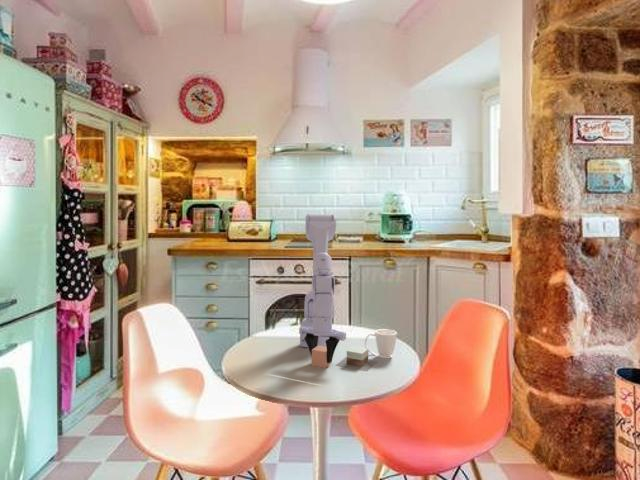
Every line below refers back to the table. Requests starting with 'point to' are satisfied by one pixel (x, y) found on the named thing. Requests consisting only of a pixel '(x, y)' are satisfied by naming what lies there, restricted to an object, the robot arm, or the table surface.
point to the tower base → (357, 362)
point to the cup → (384, 342)
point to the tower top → (357, 353)
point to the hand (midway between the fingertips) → (321, 360)
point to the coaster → (364, 368)
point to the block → (320, 356)
